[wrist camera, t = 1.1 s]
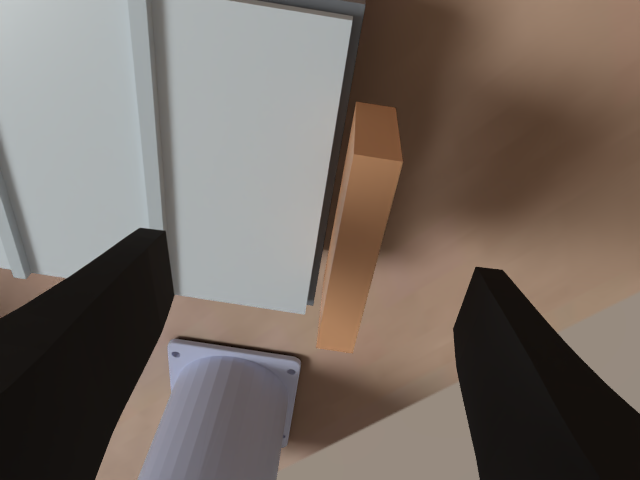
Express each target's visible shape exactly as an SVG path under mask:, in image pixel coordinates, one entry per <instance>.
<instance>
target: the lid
mask: <svg viewBox="0 0 640 480" xmlns="http://www.w3.org/2000/svg"><path fill="white" fill-rule="evenodd" d="M352 21H353V16H349V15H343V14H337V13H331V12H325V11H319V10H312V9H306V8H300V7H294V6H288V5H282V4H276V3H269V2H263V1H257V0H0V268H4V269H10V270H11V271H12V274H13V277H16V278H22V279H26V278H27V277H28V276H29V275H30V274H31V273H37V274H43V275H50V276H56V277H63V278H68V277H69V276H71V275H72V274H74V273H75V272H77V271H78V270H80V269H81V268H82V267H84V266H85V265H87V264H88V263H90V262H91V261H93V260H94V259H96V258H97V257H98V256H100V255H101V254H103V253H104V252H105V251H107V250H108V249H110V248H111V247H112V246H114V245H115V244H117V243H118V242H120V241H121V240H122V239H124V238H125V237H127V236H128V235H129V234H131V233H132V232H134V231H135V230H137V229H139V228H147V229H156V230H165V231H166V237H167V244H168V251H169V259H170V266H171V274H172V281H173V289H174V295H180V296H187V297H193V298H200V299H206V300H213V301H220V302H226V303H233V304H239V305H246V306H252V307H259V308H265V309H272V310H278V311H285V312H291V313H298V314H304V315H305V310H306V304H307V298H308V292H309V286H310V280H311V273H312V267H313V261H314V255H315V249H316V243H317V236H318V230H319V224H320V218H321V212H322V206H323V199H324V193H325V187H326V181H327V175H328V169H329V162H330V156H331V150H332V144H333V138H334V132H335V125H336V119H337V113H338V107H339V101H340V95H341V88H342V82H343V76H344V70H345V64H346V58H347V51H348V45H349V39H350V33H351V27H352ZM402 164H403V158H402V151H401V143H400V136H399V129H398V122H397V114H396V108H394V107H387V106H381V105H375V104H369V103H362V102H356V106H355V111H354V116H353V122H352V127H351V133H350V138H349V144H348V149H347V155H346V160H345V165H344V171H343V176H342V182H341V187H340V193H339V198H338V203H337V209H336V214H335V220H334V225H333V231H332V236H331V242H330V247H329V252H328V258H327V263H326V269H325V274H324V282H323V291H322V300H321V309H320V318H319V327H318V336H317V345H316V348H320V349H327V350H333V351H340V352H346V353H353V350H354V346H355V342H356V338H357V334H358V331H359V327H360V323H361V319H362V316H363V312H364V308H365V304H366V300H367V297H368V293H369V289H370V285H371V281H372V278H373V274H374V270H375V266H376V263H377V259H378V255H379V251H380V247H381V244H382V240H383V236H384V232H385V228H386V225H387V221H388V217H389V213H390V210H391V206H392V202H393V198H394V194H395V191H396V187H397V183H398V179H399V176H400V172H401V168H402Z"/></svg>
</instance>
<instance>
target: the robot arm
mask: <svg viewBox="0 0 640 480" xmlns="http://www.w3.org/2000/svg"><path fill="white" fill-rule="evenodd" d="M173 298H174V289H173V281H172V274H171V266H170V259H169V251H168V244H167V237H166V231H165V230H156V229H147V228H139V229H137V230H135V231H134V232H132V233H131V234H129V235H128V236H127V237H125V238H124V239H122V240H121V241H120V242H118V243H117V244H115V245H114V246H112V247H111V248H110V249H108V250H107V251H105V252H104V253H103V254H101V255H100V256H98V257H97V258H96V259H94V260H93V261H91V262H90V263H88V264H87V265H85V266H84V267H82V268H81V269H80V270H78V271H77V272H75V273H74V274H72V275H71V276H69V277H68V278H66V279H65V280H63V281H62V282H60V283H58V284H57V285H55V286H54V287H52V288H51V289H49V290H47V291H46V292H44V293H43V294H41V295H39V296H38V297H36V298H35V299H33V300H31V301H30V302H28V303H27V304H25V305H23V306H22V307H20V308H18V309H16V310H15V311H13V312H11V313H9V314H8V315H6V316H4V317H2V318H0V480H95V478H96V475H97V473H98V470H99V467H100V465H101V462H102V459H103V457H104V454H105V452H106V449H107V446H108V444H109V441H110V438H111V436H112V433H113V431H114V429H115V427H116V425H117V422H118V420H119V418H120V416H121V414H122V412H123V410H124V408H125V406H126V404H127V402H128V400H129V398H130V396H131V394H132V392H133V390H134V388H135V386H136V384H137V382H138V380H139V378H140V376H141V374H142V372H143V370H144V368H145V366H146V364H147V362H148V360H149V358H150V356H151V354H152V352H153V350H154V348H155V346H156V344H157V342H158V339H159V337H160V335H161V333H162V331H163V328H164V325H165V322H166V319H167V316H168V313H169V310H170V307H171V304H172V301H173ZM453 332H454V346H455V358H456V368H457V373H458V378H459V383H460V387H461V392H462V397H463V401H464V406H465V410H466V415H467V419H468V424H469V428H470V433H471V437H472V441H473V446H474V451H475V455H476V460H477V466H478V472H479V477H480V480H640V414H639V413H638V412H637V411H636V410H635V409H634V408H632V407H631V406H630V405H629V404H628V403H627V402H626V401H625V400H623V399H622V398H621V397H620V396H619V395H618V394H617V393H616V392H614V391H613V390H612V389H611V388H610V387H609V386H608V385H607V384H606V383H605V382H604V381H603V380H602V379H601V378H600V377H599V376H598V375H597V374H596V373H595V372H594V371H593V370H592V369H591V368H590V367H589V366H588V365H587V364H586V363H585V362H584V361H583V360H582V359H581V358H580V357H579V356H578V355H577V354H576V353H575V352H574V351H573V350H572V349H571V348H570V347H569V346H568V345H567V343H565V341H564V340H563V339H562V338H561V337H560V336H559V335H558V334H557V332H556V331H555V330H554V329H553V328H552V327H551V326H550V325H549V323H548V322H547V321H546V320H545V319H544V318H543V317H542V315H541V314H540V313H539V312H538V311H537V310H536V308H535V307H534V306H533V305H532V304H531V303H530V301H529V300H528V299H527V298H526V297H525V295H524V294H523V293H522V292H521V291H520V290H519V288H518V287H517V286H516V285H515V284H514V283H513V281H512V280H511V279H510V278H509V277H508V276H507V274H506V273H505V272H504V271H503V270H499V269H490V268H482V267H475V270H474V273H473V276H472V278H471V281H470V284H469V287H468V289H467V292H466V295H465V298H464V300H463V303H462V306H461V309H460V311H459V314H458V317H457V320H456V322H455V325H454V328H453ZM168 359H169V371H170V383H171V395H170V398H169V400H168V403H167V405H166V408H165V410H164V413H163V416H162V418H161V421H160V423H159V426H158V428H157V431H156V433H155V436H154V439H153V441H152V444H151V446H150V449H149V451H148V454H147V456H146V459H145V462H144V464H143V467H142V469H141V472H140V474H139V477H138V479H137V480H276V478H277V472H278V466H279V459H280V453H281V448H283V447H286V446H287V444H288V438H289V432H290V426H291V420H292V414H293V408H294V403H295V397H296V391H297V385H298V379H299V373H300V367H301V361H300V359H298V358H297V357H294V356H287V355H281V354H274V353H267V352H261V351H254V350H248V349H241V348H234V347H228V346H221V345H215V344H208V343H201V342H195V341H188V340H182V339H172V340H170V342H169V344H168Z"/></svg>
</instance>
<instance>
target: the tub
mask: <svg viewBox="0 0 640 480" xmlns="http://www.w3.org/2000/svg"><path fill="white" fill-rule="evenodd" d="M257 1H263V2H269V3H276V4H282V5H288V6H294V7H300V8H306V9H312V10H319V11H325V12H331V13H337V14H343V15H349V16H353V21H352V27H351V33H350V39H349V45H348V51H347V58H346V64H345V70H344V76H343V82H342V88H341V95H340V101H339V107H338V113H337V119H336V125H335V132H334V138H333V144H332V150H331V156H330V162H329V169H328V175H327V181H326V187H325V193H324V199H323V206H322V212H321V218H320V224H319V230H318V236H317V243H316V249H315V255H314V261H313V267H312V273H311V280H310V286H309V292H308V298H307V304H306V305H312V306H313V303H314V297H315V292H316V286H317V280H318V274H319V269H320V263H321V257H322V251H323V246H324V240H325V234H326V228H327V223H328V217H329V211H330V205H331V200H332V194H333V188H334V182H335V177H336V171H337V165H338V159H339V154H340V148H341V142H342V136H343V131H344V125H345V119H346V113H347V108H348V102H349V96H350V90H351V85H352V79H353V73H354V67H355V62H356V56H357V50H358V44H359V39H360V33H361V27H362V21H363V16H364V10H365V0H257Z"/></svg>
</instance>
